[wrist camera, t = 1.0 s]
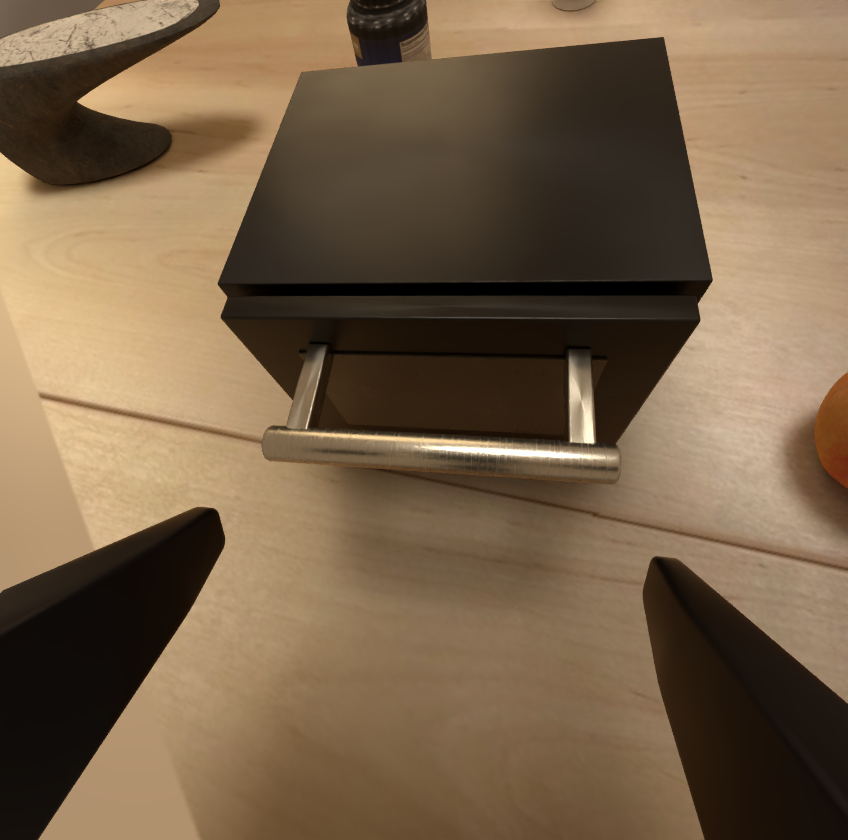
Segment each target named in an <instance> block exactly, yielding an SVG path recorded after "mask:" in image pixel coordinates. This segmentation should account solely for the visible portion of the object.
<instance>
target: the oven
mask: <svg viewBox="0 0 848 840" xmlns="http://www.w3.org/2000/svg"><path fill="white" fill-rule="evenodd" d="M712 281H713V279H712V274H711V269H710V264H709V259H708V254H707V249H706V244H705V239H704V234H703V229H702V224H701V219H700V214H699V209H698V204H697V199H696V195H695V190H694V185H693V180H692V175H691V170H690V165H689V160H688V155H687V150H686V145H685V140H684V135H683V130H682V125H681V120H680V115H679V110H678V106H677V101H676V96H675V91H674V86H673V81H672V76H671V71H670V66H669V61H668V56H667V51H666V46H665V41H664V37H659V38H649V39H638V40H628V41H618V42H607V43H597V44H587V45H576V46H566V47H556V48H545V49H535V50H525V51H514V52H504V53H494V54H483V55H473V56H463V57H452V58H442V59H432V60H421V61H411V62H401V63H390V64H380V65H370V66H359V67H349V68H339V69H328V70H318V71H308V72H301V75H300V77H299V80H298V82H297V85H296V87H295V90H294V92H293V95H292V97H291V100H290V102H289V105H288V107H287V110H286V112H285V115H284V117H283V120H282V123H281V125H280V128H279V130H278V133H277V135H276V138H275V140H274V143H273V145H272V148H271V150H270V153H269V155H268V158H267V160H266V163H265V165H264V168H263V170H262V173H261V175H260V178H259V181H258V183H257V186H256V188H255V191H254V193H253V196H252V198H251V201H250V203H249V206H248V208H247V211H246V213H245V216H244V218H243V221H242V223H241V226H240V228H239V231H238V233H237V236H236V239H235V241H234V244H233V246H232V249H231V251H230V254H229V256H228V259H227V261H226V264H225V266H224V269H223V271H222V274H221V276H220V279H219V281H218V286H219V287H220V288H221V289H222V291H223V292H224V293H225V294H226V296H227V297H229V296H386V295H696V298H697V303H699V301H700V299H701V298H702V297H703V295H704V293H705V292H706V290H707V289H708V287H709V286H710V284H711V283H712Z"/></svg>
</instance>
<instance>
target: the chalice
mask: <svg viewBox="0 0 848 840" xmlns="http://www.w3.org/2000/svg"><path fill="white" fill-rule="evenodd" d="M594 1H595V0H553V2H552V3H553V5H554V6H555V7H557V8H559V9H562V10H569V11H570V10H579V9H583V8H585V7H588V6H590V5H591V4H592V3H593V2H594Z"/></svg>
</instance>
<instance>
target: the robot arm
mask: <svg viewBox="0 0 848 840" xmlns="http://www.w3.org/2000/svg"><path fill="white" fill-rule="evenodd" d="M224 545H225V535H224V531H223V528H222V524H221V520H220V516H219V513H218V511H217V510H216V509H214V508H207V507H196V508H193V509H191V510H188V511H186V512H184V513H181V514H179V515H177V516H174V517H172V518H170V519H168V520H165V521H163V522H161V523H158V524H156V525H154V526H151V527H149V528H147V529H144V530H142V531H140V532H137V533H135V534H133V535H130V536H128V537H126V538H123V539H121V540H119V541H117V542H114V543H112V544H110V545H107V546H105V547H103V548H100V549H98V550H96V551H93V552H91V553H89V554H86V555H84V556H82V557H79V558H77V559H75V560H73V561H70V562H68V563H66V564H64V565H61V566H59V567H57V568H54V569H52V570H50V571H47V572H45V573H42V574H40V575H38V576H35V577H33V578H31V579H29V580H26V581H24V582H22V583H19V584H17V585H15V586H12V587H10V588H8V589H5V590H3V591H2V592H1V593H0V840H38V839H39V837H40V836H41V834H42V833H43V831H44V830H45V828H46V827H47V825H48V824H49V822H50V821H51V819H52V818H53V816H54V815H55V813H56V812H57V810H58V809H59V807H60V806H61V804H62V803H63V801H64V799H65V798H66V797H67V795H68V794H69V792H70V791H71V789H72V788H73V786H74V785H75V783H76V782H77V780H78V779H79V777H80V776H81V774H82V773H83V771H84V770H85V768H86V767H87V765H88V764H89V762H90V760H91V759H92V758H93V756H94V754H95V753H96V751H97V750H98V748H99V747H100V745H101V744H102V742H103V741H104V739H105V738H106V736H107V735H108V733H109V732H110V730H111V729H112V727H113V726H114V724H115V723H116V721H117V720H118V718H119V717H120V715H121V714H122V712H123V711H124V709H125V708H126V706H127V705H128V703H129V702H130V700H131V699H132V697H133V696H134V694H135V693H136V691H137V690H138V688H139V687H140V685H141V684H142V682H143V681H144V679H145V678H146V676H147V675H148V673H149V672H150V670H151V669H152V667H153V666H154V664H155V663H156V661H157V660H158V658H159V657H160V655H161V654H162V652H163V651H164V649H165V648H166V646H167V644H168V643H169V641H170V640H171V638H172V637H173V635H174V634H175V632H176V631H177V629H178V628H179V626H180V625H181V623H182V622H183V620H184V619H185V617H186V616H187V614H188V612H189V611H190V609H191V607H192V606H193V604H194V602H195V600H196V598H197V597H198V595H199V593H200V591H201V589H202V587H203V585H204V584H205V582H206V580H207V578H208V576H209V574H210V572H211V571H212V569H213V567H214V565H215V563H216V561H217V559H218V558H219V556H220V554H221V552H222V550H223V548H224ZM643 603H644V609H645V614H646V620H647V625H648V631H649V636H650V642H651V647H652V653H653V658H654V664H655V669H656V674H657V679H658V684H659V687H660V691H661V695H662V699H663V702H664V705H665V709H666V712H667V715H668V719H669V722H670V725H671V729H672V732H673V735H674V739H675V742H676V745H677V749H678V752H679V755H680V759H681V762H682V765H683V769H684V772H685V775H686V779H687V782H688V785H689V789H690V792H691V795H692V799H693V802H694V805H695V809H696V812H697V815H698V819H699V822H700V825H701V829H702V832H703V836H704V839H705V840H848V704H847V703H846V702H845V701H844V700H843V699H842V698H840V697H839V696H838V695H837V694H836V693H835V692H833V691H832V690H831V689H830V688H829V687H828V686H826V685H825V684H824V683H823V682H822V681H820V680H819V679H818V678H817V677H816V676H815V675H813V674H812V673H811V672H810V671H809V670H808V669H806V668H805V667H804V666H803V665H802V664H801V663H799V662H798V661H797V660H796V659H795V658H794V657H792V656H791V655H790V654H789V653H788V652H786V651H785V650H784V649H783V648H782V647H781V646H779V645H778V644H777V643H776V642H775V641H774V640H772V639H771V638H770V637H769V636H768V635H767V634H765V633H764V632H763V631H762V630H761V629H759V628H758V627H757V626H756V625H755V624H754V623H752V622H751V621H750V620H749V619H748V618H747V617H745V616H744V615H743V614H742V613H741V612H740V611H738V610H737V609H736V608H735V607H734V606H732V605H731V604H730V603H729V602H728V601H727V600H725V599H724V598H723V597H722V596H721V595H720V594H718V593H717V592H716V591H715V590H714V589H713V588H711V587H710V586H709V585H708V584H707V583H706V582H704V581H703V580H702V579H701V578H700V577H698V576H697V575H696V574H695V573H694V572H693V571H691V570H690V569H689V568H688V567H687V566H686V565H684V564H683V563H682V562H681V561H679V560H678V559H675V558H668V557H658V556H656V557H654V558H652V560H651V561H650V565H649V568H648V572H647V576H646V580H645V584H644V588H643Z"/></svg>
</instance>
